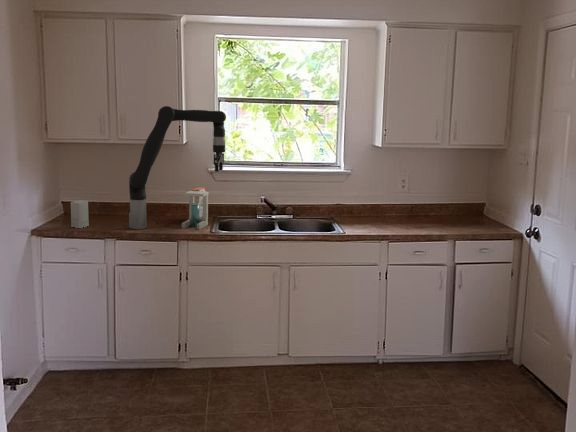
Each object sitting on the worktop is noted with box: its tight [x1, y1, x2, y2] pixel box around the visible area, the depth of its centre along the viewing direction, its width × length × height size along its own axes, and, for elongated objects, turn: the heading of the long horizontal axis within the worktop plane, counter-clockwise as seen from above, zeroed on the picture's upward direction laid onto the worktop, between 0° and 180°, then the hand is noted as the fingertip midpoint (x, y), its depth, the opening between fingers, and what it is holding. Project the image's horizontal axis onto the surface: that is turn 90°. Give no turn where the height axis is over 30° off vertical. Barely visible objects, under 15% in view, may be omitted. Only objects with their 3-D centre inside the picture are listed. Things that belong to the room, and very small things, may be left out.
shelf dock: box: [181, 190, 210, 230], centre depth 355 cm, size 16×12×21 cm
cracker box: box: [190, 186, 208, 219], centre depth 376 cm, size 14×6×21 cm, turn 168°
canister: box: [190, 203, 200, 228], centre depth 356 cm, size 5×5×14 cm
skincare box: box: [70, 199, 90, 229], centre depth 342 cm, size 8×7×16 cm
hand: (218, 170), depth 356 cm, fingers open, 8 cm apart
